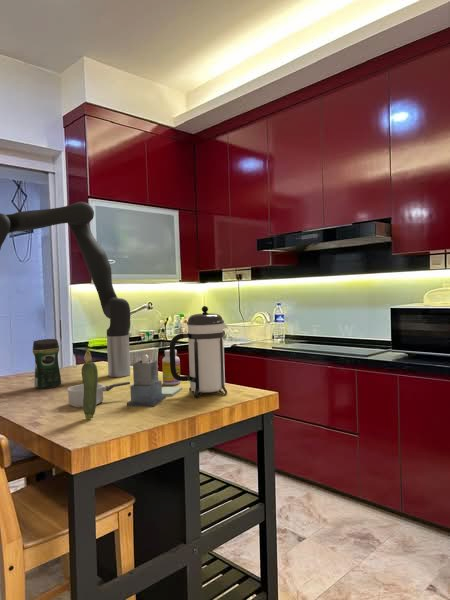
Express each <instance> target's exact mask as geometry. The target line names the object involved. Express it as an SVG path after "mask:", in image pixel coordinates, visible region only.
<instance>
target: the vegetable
mask: <svg viewBox="0 0 450 600" xmlns="http://www.w3.org/2000/svg"><path fill="white" fill-rule="evenodd" d="M83 357H84V358H83V359H84V362H85V363H83V365H82V367H81V378H82V384H83V385H84V398H83V407H82V408H83V413H84V416H85V417H84V418H85V419H86V420H88V419H89V420H92V419H93V417H94V415H95V413H96V407H97V405H96V399H97V397H96V395H97V384H98V379H99V377H98V376H99V374H98V372H99V371H98V367H97V364H96V363H95V362H94V361H93V358H92V354H91V352H90V348H88V349H86V351H85V354H84V356H83Z"/></svg>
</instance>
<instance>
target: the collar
mask: <svg viewBox="0 0 450 600" xmlns="http://www.w3.org/2000/svg"><path fill="white" fill-rule="evenodd" d="M158 363H159V361H158V359H152V360H150V359H149V363H142V359H140V360H138V361H136V362H133V363H132V370H133V371H132V372H133V374H132V377H133V385H153V384H155V383H157V382H158V380H159V365H158Z"/></svg>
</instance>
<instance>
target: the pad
mask: <svg viewBox="0 0 450 600" xmlns="http://www.w3.org/2000/svg"><path fill="white" fill-rule="evenodd" d="M182 390H183V387H182V386H162V395H166V397H175V395H176V394H178V393H179V392H180V391H182Z"/></svg>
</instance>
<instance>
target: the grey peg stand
mask: <svg viewBox="0 0 450 600" xmlns="http://www.w3.org/2000/svg"><path fill="white" fill-rule="evenodd" d="M141 360H142V363H149V360H150V359H149V355H148V354H143V355H142V356H141ZM162 383H163V380H159V379H158V382H157V383H155V384H153V385H134V384H131V385H130V387H129V389H130V400H129V401H127V402H126V407H150V408H151V407H152V408H153V407H155V406H157V405H158V404H160V403H161V402H162V401H164V400H166V399H167V396H166V395H162V387H163V385H162Z"/></svg>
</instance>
